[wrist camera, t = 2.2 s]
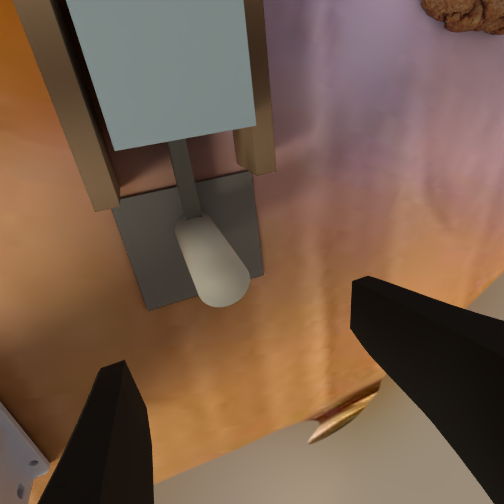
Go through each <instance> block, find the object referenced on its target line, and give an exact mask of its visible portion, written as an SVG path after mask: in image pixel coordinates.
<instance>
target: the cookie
mask: <svg viewBox="0 0 504 504" xmlns="http://www.w3.org/2000/svg"><path fill="white" fill-rule="evenodd" d="M421 5H422V8H424V9H425V11H426V13H427V15H429V16H431V17H433V18H435V19H436V20H438V21H444V22H445V26H444V27H445V28H446V29H447V30H449V31H451V32H464V31H480V30H485V32H486V33H488V32H490V33H491V34H493V35H494V34H498V35H502V34H504V0H422V2H421Z"/></svg>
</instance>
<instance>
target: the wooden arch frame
mask: <svg viewBox="0 0 504 504" xmlns="http://www.w3.org/2000/svg"><path fill="white" fill-rule="evenodd" d="M243 1H244V11H245V21H246V30H247V40H248V50H249V59H250V69H251V79H252V88H253V98H254V108H255V117H256V126H252V127H246V128H241V129H235V130H233V137H234V144H235V151H236V158H237V164H239V165H240V166H242V167H244V168H245V169H247V170H248V171H250V172H252V173H253V174H255V175H257V176H259V175H263V174H267V173H272V172H276V159H275V146H274V134H273V121H272V109H271V96H270V83H269V71H268V58H267V45H266V33H265V20H264V8H263V0H243ZM13 2H14V5H15V7H16V10H17V13H18V15H19V18H20V20H21V23H22V25H23V28H24V31H25V33H26V36H27V38H28V41H29V43H30V46H31V49H32V51H33V54H34V56H35V59H36V61H37V64H38V67H39V69H40V72H41V74H42V77H43V79H44V82H45V85H46V87H47V90H48V92H49V95H50V97H51V100H52V103H53V105H54V108H55V110H56V113H57V115H58V118H59V121H60V123H61V126H62V128H63V131H64V133H65V136H66V139H67V141H68V144H69V146H70V149H71V151H72V154H73V157H74V159H75V162H76V164H77V167H78V169H79V172H80V175H81V177H82V180H83V182H84V185H85V187H86V190H87V193H88V195H89V198H90V200H91V203H92V205H93V208H94V211H95V212H98V211H102V210H107V209H111V208H116V207H120V186H119V183H118V180H117V177H116V174H115V171H114V168H113V165H112V162H111V159H110V156H109V153H108V150H107V147H106V144H105V141H104V138H103V135H102V132H101V129H100V126H99V123H98V120H97V117H96V114H95V111H94V108H93V105H92V102H91V99H90V96H89V93H88V90H87V87H86V84H85V81H84V78H83V75H82V72H81V69H80V66H79V63H78V60H77V57H76V54H75V51H74V48H73V45H72V42H71V39H70V36H69V33H68V30H67V27H66V24H65V21H64V18H63V15H62V12H61V9H60V6H59V3H58V0H13Z"/></svg>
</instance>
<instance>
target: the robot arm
mask: <svg viewBox="0 0 504 504" xmlns="http://www.w3.org/2000/svg"><path fill="white" fill-rule="evenodd" d="M350 329H351V330H352V332H353V333H354V334H355V336H356V337H357V339H358V340H359V341H360V343H361V344H362V346H363V347H364V348H365V350H366V351H367V352H368V353H369V355H370V356H371V357H372V358H373V359H374V360H375V361H376V362H377V363H378V364H379V366H380V367H381V368H382V369H383V370H384V371H385V372H386V373H387V374H388V375H389V376H390V377H391V378H392V379H393V380H394V382H396V384H397V385H398V386H399V387H400V388H401V389H402V390H403V391H404V392H405V393H406V394H407V395H408V396H409V397H410V398H411V399H412V401H413V402H414V403H415V404H416V405H417V406H418V407H419V408H420V409H421V410H422V411H423V412H424V413H425V415H426V416H427V417H428V418H429V419H430V420H431V421H432V423H433V424H434V425H435V426H436V427H437V429H438V430H439V431H440V433H441V434H442V435H443V436H444V438H445V439H446V440H447V441H448V443H449V444H450V445H451V447H452V448H453V449H454V450H455V451H456V453H457V454H458V455H459V456H460V458H461V459H462V461H463V462H464V463H465V465H466V466H467V467H468V469H469V470H470V471H471V473H472V474H473V475H474V477H475V478H476V479H477V481H478V482H479V483H480V484H481V486H482V487H483V489H484V490H485V492H486V493H487V494H488V496H489V497H490V499H491V500H492V501H493V503H494V504H504V321H503V320H499V319H495V318H492V317H488V316H485V315H481V314H479V313H475V312H472V311H469V310H466V309H463V308H460V307H457V306H454V305H450V304H447V303H445V302H442V301H439V300H436V299H433V298H430V297H427V296H425V295H422V294H419V293H416V292H414V291H411V290H408V289H405V288H403V287H400V286H397V285H394V284H392V283H389V282H386V281H383V280H380V279H377V278H374V277H371V276H366V277H363V278H360V279H357V280H354V281H352V297H351V320H350ZM49 468H50V463H49V461H48V460H47V459H46V458H45V457H44V455H43V454H42V453H41V452H40V450H39V449H38V448H37V447H36V445H35V444H34V443H33V442H32V440H31V439H30V438H29V437H28V435H27V434H26V433H25V432H24V430H23V429H22V428H21V427H20V425H19V424H18V423H17V422H16V420H15V419H14V418H13V417H12V415H11V414H10V413H9V412H8V410H7V409H6V408H5V407H4V406H3V404H2V403H1V402H0V504H28V502H29V498H30V493H31V489H32V484H33V480H34V478H37V477H39V476H42V475H44V474H46V473H47V472H48V471H49ZM38 504H154V492H153V461H152V442H151V435H150V428H149V421H148V415H147V408H146V406H145V403H144V401H143V399H142V397H141V395H140V392H139V390H138V388H137V386H136V384H135V382H134V379H133V377H132V375H131V373H130V371H129V368H128V366H127V364H126V362H125V360H123V361H120V362H118V363H115V364H112V365H109V366H106V367H103V368H101V369H100V371H99V372H98V374H97V377H96V379H95V382H94V384H93V387H92V389H91V392H90V394H89V396H88V399H87V401H86V404H85V406H84V408H83V411H82V413H81V415H80V417H79V420H78V422H77V424H76V426H75V429H74V431H73V433H72V435H71V437H70V439H69V442H68V444H67V446H66V448H65V450H64V452H63V454H62V457H61V459H60V461H59V463H58V465H57V467H56V469H55V471H54V472H53V474H52V476H51V478H50V480H49V482H48V484H47V486H46V488H45V490H44V492H43V494H42V496H41V498H40V500H39V502H38Z"/></svg>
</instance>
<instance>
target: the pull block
mask: <svg viewBox="0 0 504 504" xmlns="http://www.w3.org/2000/svg"><path fill="white" fill-rule="evenodd" d="M66 2H67V5H68V8H69V11H70V14H71V17H72V20H73V23H74V27H75V30H76V33H77V36H78V39H79V42H80V45H81V48H82V51H83V54H84V58H85V61H86V64H87V67H88V70H89V73H90V76H91V79H92V82H93V85H94V88H95V92H96V95H97V98H98V101H99V104H100V107H101V110H102V113H103V116H104V119H105V123H106V126H107V129H108V132H109V135H110V138H111V141H112V144H113V147H114V150H115V151H118V150H124V149H129V148H135V147H141V146H146V145H152V144H157V143H163V142H167V146H168V150H169V154H170V158H171V162H172V167H173V171H174V175H175V179H176V183H177V187H178V191H179V196H180V200H181V204H182V208H183V212H184V215H182V216H181V217H180V218H179V219H178V221H177V223H176V225H175V235H176V238H177V240H178V243H179V246H180V248H181V251H182V253H183V256H184V259H185V261H186V264H187V266H188V269H189V272H190V274H191V277H192V279H193V282H194V285H195V287H196V290H197V292H198V295H199V297H200V299H201V300H202V301H203V302H204V303H206V304H207V305H209V306H212V307H226V306H229V305H232V304H234V303H236V302H237V301H239V300H240V299H241V298H242V297H243V296H244V295H245V293H246V292H247V290H248V288H249V285H250V274H249V271H248V270H247V268H246V267H245V265H244V264H243V262H242V261H241V260H240V258H239V257H238V255H237V254H236V253H235V251H234V250H233V248H232V247H231V246H230V244H229V243H228V241H227V240H226V239H225V237H224V236H223V234H222V233H221V232H220V230H219V229H218V228H217V226H216V225H215V223H214V222H213V221H212V219H211V218H210V217H209V216H208V215H207V214H206V213H204V212H201V210H200V205H199V200H198V195H197V191H196V186H195V181H194V177H193V172H192V167H191V162H190V158H189V153H188V148H187V143H186V139H185V138H191V137H196V136H202V135H207V134H213V133H218V132H224V131H229V130H235V129H241V128H246V127H252V126H256V117H255V108H254V98H253V88H252V79H251V69H250V59H249V50H248V40H247V30H246V21H245V11H244V1H243V0H66Z"/></svg>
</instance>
